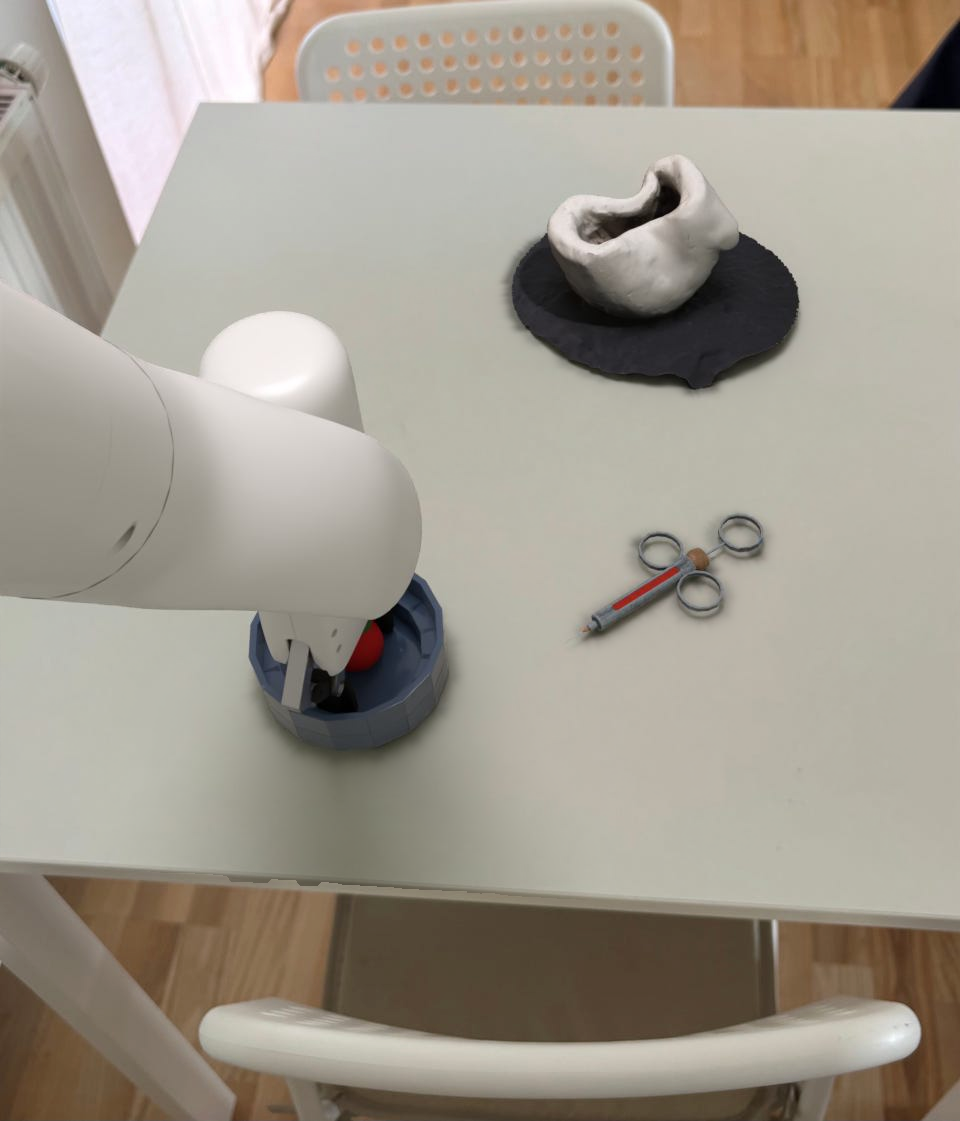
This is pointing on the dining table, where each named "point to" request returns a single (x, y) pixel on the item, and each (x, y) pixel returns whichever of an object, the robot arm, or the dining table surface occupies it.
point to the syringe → (668, 578)
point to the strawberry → (366, 649)
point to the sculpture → (655, 281)
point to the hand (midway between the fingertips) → (354, 663)
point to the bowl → (371, 680)
